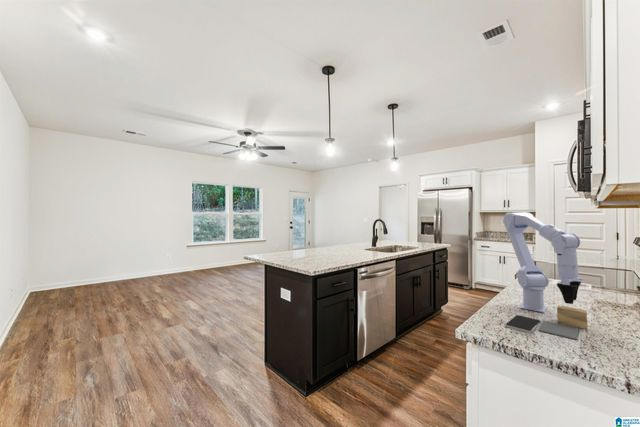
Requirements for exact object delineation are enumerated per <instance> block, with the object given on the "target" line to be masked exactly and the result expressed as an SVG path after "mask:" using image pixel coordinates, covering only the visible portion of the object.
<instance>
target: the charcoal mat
mask: <svg viewBox="0 0 640 427" xmlns="http://www.w3.org/2000/svg"><path fill="white" fill-rule="evenodd" d="M541 322H542V323H540V327H539V328H538V332H541V333H545V334H549V335H553V336H558V337H563V338H568V339H571V340H575V341H578V338H579V331H580V327H575V326H570V325H565V324H561V323H558V322H553V321H547V320H542V321H541Z"/></svg>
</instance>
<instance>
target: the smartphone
mask: <svg viewBox="0 0 640 427" xmlns="http://www.w3.org/2000/svg"><path fill="white" fill-rule="evenodd" d="M541 322H542V321H541V320H540V319H537V318H532V317H528V316H523V315H519V314H516V315H515V316H514V317H513V318H512V319H510V320H509V321H508V322H506V323H505V327H506V328H510V329H513V330H515V331H516V330H517V331H522V332H524V333H527V334H532V333H533V332H535V330H536V329H537V327H538V326H539V325H541Z"/></svg>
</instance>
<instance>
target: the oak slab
mask: <svg viewBox="0 0 640 427" xmlns="http://www.w3.org/2000/svg"><path fill="white" fill-rule="evenodd" d="M556 310H557V311H556V312H557V314H556V315H557V316H556V317H557V320H556V321H557V322H556V323H558V324H563V325H568V326H572V327H577V328H579V329H585V330H587V329H588V314H587V312H588V311H587V309H582V308H578V307H571V306H565V305H559V304H558V305H557V307H556Z"/></svg>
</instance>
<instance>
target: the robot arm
mask: <svg viewBox="0 0 640 427" xmlns="http://www.w3.org/2000/svg"><path fill="white" fill-rule="evenodd" d="M502 222H503V224H504V227H505V229H506V231H507V234H508V238H509V240H510V242H511V246H512V249H513V250H514V253H515V256H516V259H517V261H518V264H519V265H520V268H519V269H518V270H516V276H517V281H518V285H520V287H521V288H522V305H521V306H520V309H524V310H529V311H535V312H539V313H545V312H546V310H547V308H548V307H547V306H546V305H545V297H544V296H545V294H544V291H545V290H546V288H547V287H548V286H549V282H550V281H549V278H548V276H547V275H546V274H545V273H544V270H543V269H542V268H540V267H538V266H537V265H536V263H535V262H534V259H533V256H532V254H531V252H530V250H529V247H528V244H527V242H526V240H525V236H524V235H523V233H524V232H525V231H526V230H527V229H528V228H529V227H530V228H532V229H533V230H536V231H537V232H538V234H539V236H541V237H542V238H543V239H544V240H547V241H548V242H551V246H552V247H553V248H554V249H553V250H554V252H555V254H556V263H557V273H558V276H557V279H558V280H560V282H557V283H556V286H557V288H558V289H559V291H560V293H561V295H562V297H563V298H562V299H563V302H564V304H568V305H569V304H570V305H573V304H574V301H577V298H578V291H579V288H580V285H581V284H582V281H584V278H583V277H579V274H580V273H579V266H578V257H577V256H578V254H577V249H578V248H579V247H580V245H581V239H580V238H579V236H578V235H576V234H575V233H567V232H566V231H565V230H561V229H559V228H558V227H556V225H554V224H550V223H549V224H545V223H543V222H541V221H540V220H539V219H537V218H536V217H535V216H534V215H533V214H532V213H530V212H529V211H524V212H506V213H505V214H504V216H503V219H502Z"/></svg>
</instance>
